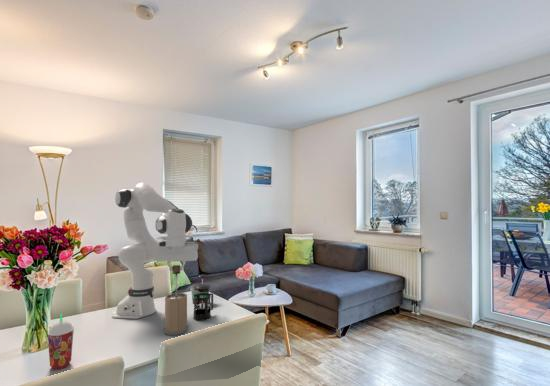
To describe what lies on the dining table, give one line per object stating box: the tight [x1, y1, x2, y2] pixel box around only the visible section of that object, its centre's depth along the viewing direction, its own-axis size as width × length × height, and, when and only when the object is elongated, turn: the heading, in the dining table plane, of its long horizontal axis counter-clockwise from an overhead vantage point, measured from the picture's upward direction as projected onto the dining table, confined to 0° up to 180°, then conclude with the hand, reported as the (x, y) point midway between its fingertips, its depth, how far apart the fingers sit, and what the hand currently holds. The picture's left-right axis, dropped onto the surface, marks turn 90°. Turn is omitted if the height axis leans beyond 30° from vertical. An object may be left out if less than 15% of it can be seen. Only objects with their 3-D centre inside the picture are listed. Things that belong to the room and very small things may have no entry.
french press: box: [192, 274, 214, 322], centre depth 167 cm, size 12×9×23 cm
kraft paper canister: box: [163, 292, 189, 337], centre depth 151 cm, size 11×13×17 cm
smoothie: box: [47, 313, 75, 370], centre depth 119 cm, size 8×8×20 cm
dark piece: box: [189, 285, 210, 305], centre depth 188 cm, size 12×6×10 cm, turn 88°
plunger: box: [169, 264, 184, 299], centre depth 150 cm, size 7×7×16 cm
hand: (176, 270), depth 150 cm, fingers closed on plunger, 4 cm apart
